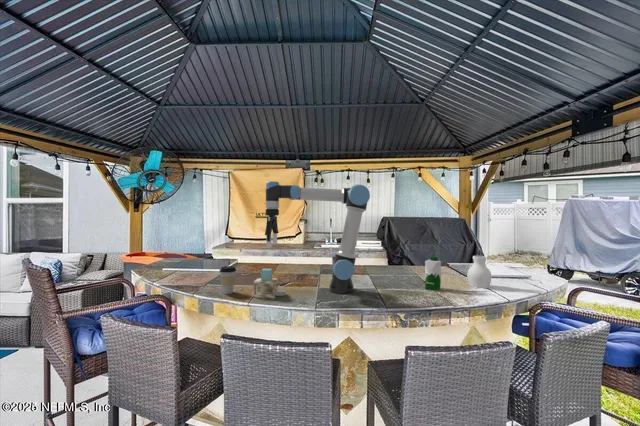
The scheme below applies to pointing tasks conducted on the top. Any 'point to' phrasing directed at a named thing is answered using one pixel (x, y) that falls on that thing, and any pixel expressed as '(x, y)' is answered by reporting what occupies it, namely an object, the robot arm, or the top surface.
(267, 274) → the block
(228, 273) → the coffee cup
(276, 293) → the rod
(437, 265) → the milk carton
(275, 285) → the tunnel
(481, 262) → the vase
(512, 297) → the top surface
